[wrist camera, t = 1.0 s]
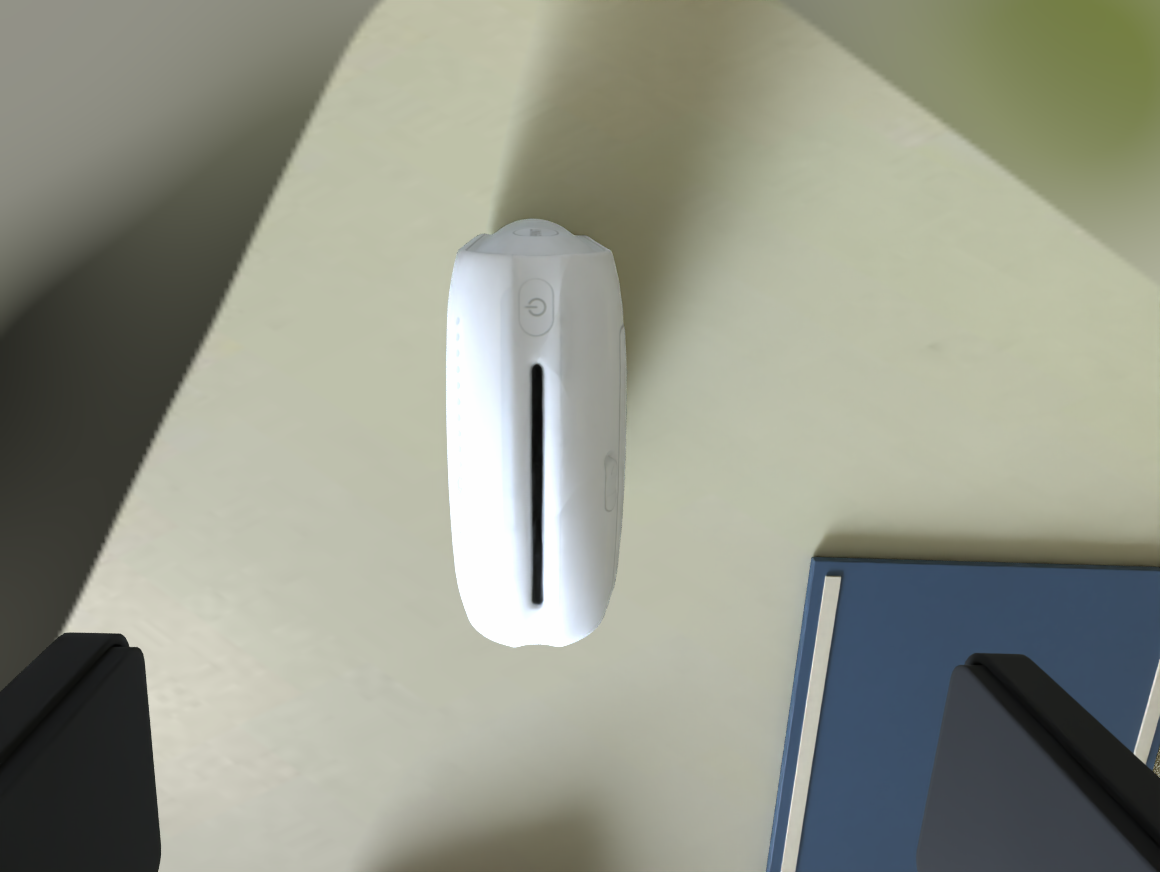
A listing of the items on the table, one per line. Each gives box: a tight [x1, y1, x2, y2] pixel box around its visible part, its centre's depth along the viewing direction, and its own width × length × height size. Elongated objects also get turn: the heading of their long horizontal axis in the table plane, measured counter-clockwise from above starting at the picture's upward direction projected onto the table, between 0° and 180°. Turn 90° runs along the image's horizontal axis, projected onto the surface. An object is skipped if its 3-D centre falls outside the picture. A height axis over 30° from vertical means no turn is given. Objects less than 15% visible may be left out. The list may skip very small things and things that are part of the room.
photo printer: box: [446, 219, 627, 647], centre depth 24 cm, size 10×4×12 cm, turn 179°
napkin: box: [766, 557, 1160, 872], centre depth 36 cm, size 18×16×1 cm
